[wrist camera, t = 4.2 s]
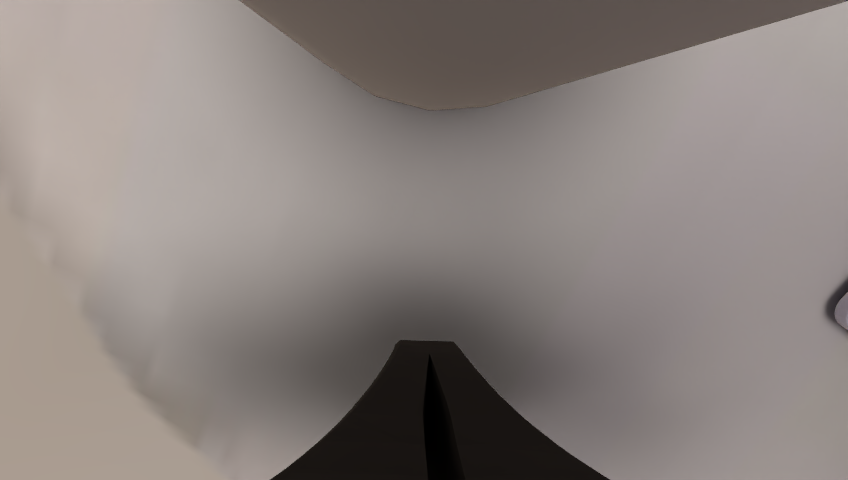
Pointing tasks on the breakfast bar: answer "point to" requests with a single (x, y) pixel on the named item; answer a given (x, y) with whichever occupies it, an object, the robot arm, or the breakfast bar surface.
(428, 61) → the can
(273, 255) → the breakfast bar surface
